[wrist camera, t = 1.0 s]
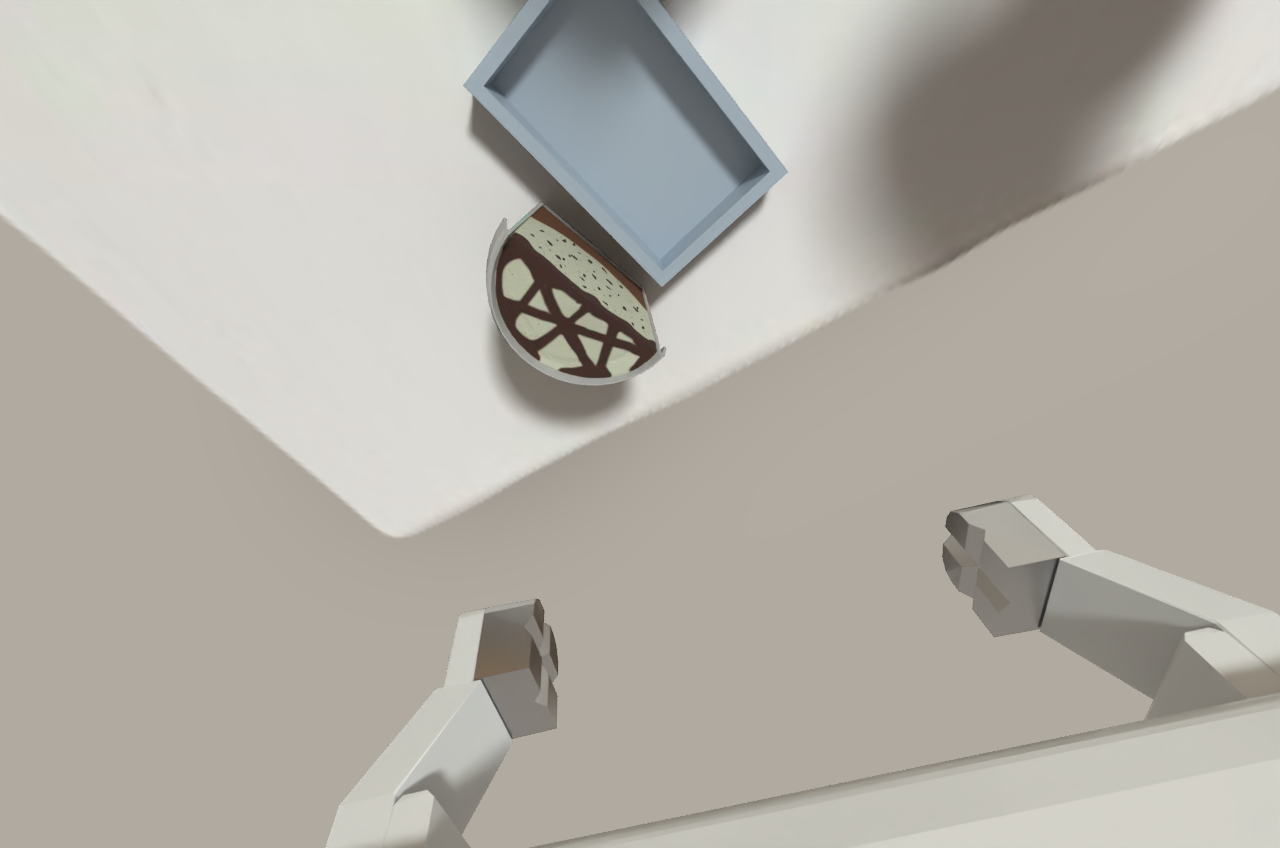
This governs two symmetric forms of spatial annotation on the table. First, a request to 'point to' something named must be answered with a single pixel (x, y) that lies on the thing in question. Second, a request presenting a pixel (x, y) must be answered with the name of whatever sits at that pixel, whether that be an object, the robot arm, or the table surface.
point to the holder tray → (627, 124)
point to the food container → (568, 303)
